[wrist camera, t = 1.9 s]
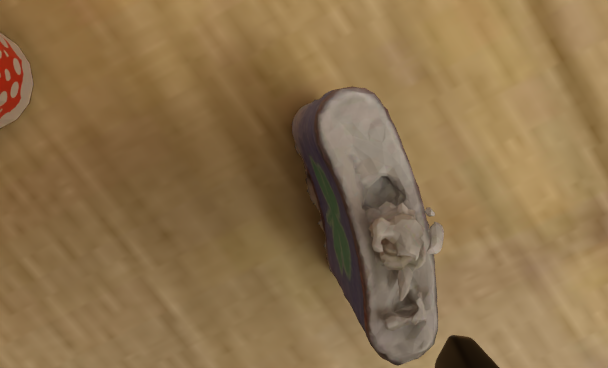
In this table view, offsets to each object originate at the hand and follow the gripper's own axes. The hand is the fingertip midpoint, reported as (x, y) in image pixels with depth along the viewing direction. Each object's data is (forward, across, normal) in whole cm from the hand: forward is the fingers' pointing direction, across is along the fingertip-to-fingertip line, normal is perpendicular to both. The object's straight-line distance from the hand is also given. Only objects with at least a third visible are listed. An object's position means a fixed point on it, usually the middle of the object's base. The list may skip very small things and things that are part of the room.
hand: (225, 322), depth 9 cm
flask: (+13, -4, +5) cm, 15 cm away
